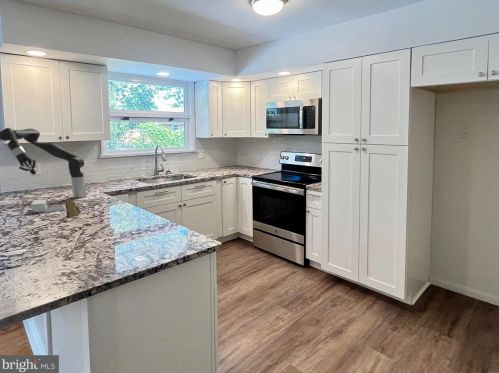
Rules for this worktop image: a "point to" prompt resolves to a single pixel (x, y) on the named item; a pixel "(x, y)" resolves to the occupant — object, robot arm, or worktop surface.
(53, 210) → the mat
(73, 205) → the rock
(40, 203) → the skincare box
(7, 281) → the worktop surface
